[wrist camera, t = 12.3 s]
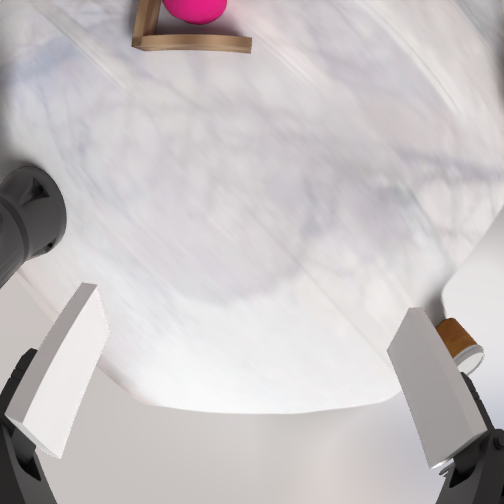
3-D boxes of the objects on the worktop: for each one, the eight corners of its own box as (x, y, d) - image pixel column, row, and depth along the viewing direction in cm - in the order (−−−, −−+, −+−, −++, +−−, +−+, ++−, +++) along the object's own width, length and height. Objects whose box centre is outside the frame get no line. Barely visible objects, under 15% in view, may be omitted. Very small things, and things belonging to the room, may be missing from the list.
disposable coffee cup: (468, 315, 51) (492, 352, 41) (443, 345, 56) (463, 382, 45) (445, 308, 50) (472, 348, 39) (419, 340, 54) (440, 382, 44)
